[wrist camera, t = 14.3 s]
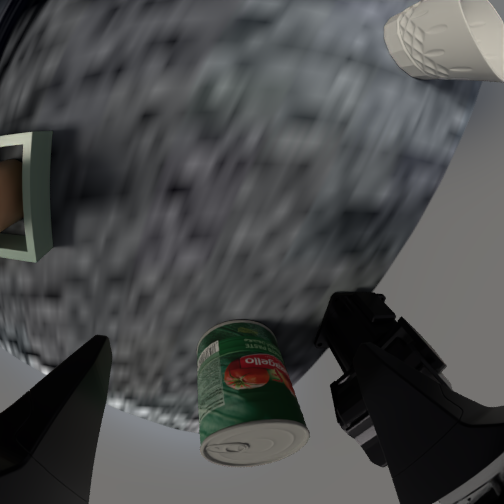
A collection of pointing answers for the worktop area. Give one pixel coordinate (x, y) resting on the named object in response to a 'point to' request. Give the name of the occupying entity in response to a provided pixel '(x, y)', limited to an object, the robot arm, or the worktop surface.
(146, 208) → the worktop surface
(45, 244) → the dish rack
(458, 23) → the white cup
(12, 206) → the orange rounded blob
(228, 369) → the canned tomato
